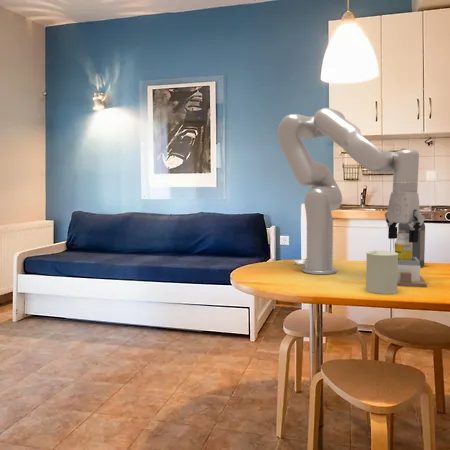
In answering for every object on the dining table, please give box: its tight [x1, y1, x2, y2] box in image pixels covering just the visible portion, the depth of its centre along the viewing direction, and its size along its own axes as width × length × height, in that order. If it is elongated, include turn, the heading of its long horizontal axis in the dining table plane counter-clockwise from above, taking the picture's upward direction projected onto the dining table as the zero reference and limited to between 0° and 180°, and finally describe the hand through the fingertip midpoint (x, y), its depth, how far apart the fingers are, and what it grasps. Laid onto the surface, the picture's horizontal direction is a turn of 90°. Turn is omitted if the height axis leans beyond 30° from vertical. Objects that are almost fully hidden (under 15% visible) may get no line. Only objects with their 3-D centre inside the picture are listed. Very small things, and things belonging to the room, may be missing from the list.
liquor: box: [397, 222, 426, 268], centre depth 175 cm, size 9×9×30 cm
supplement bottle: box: [394, 232, 412, 261], centre depth 147 cm, size 5×5×10 cm
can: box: [365, 250, 399, 295], centre depth 135 cm, size 9×9×12 cm
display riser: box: [397, 257, 428, 288], centre depth 148 cm, size 12×16×8 cm
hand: (402, 240), depth 147 cm, fingers open, 9 cm apart
